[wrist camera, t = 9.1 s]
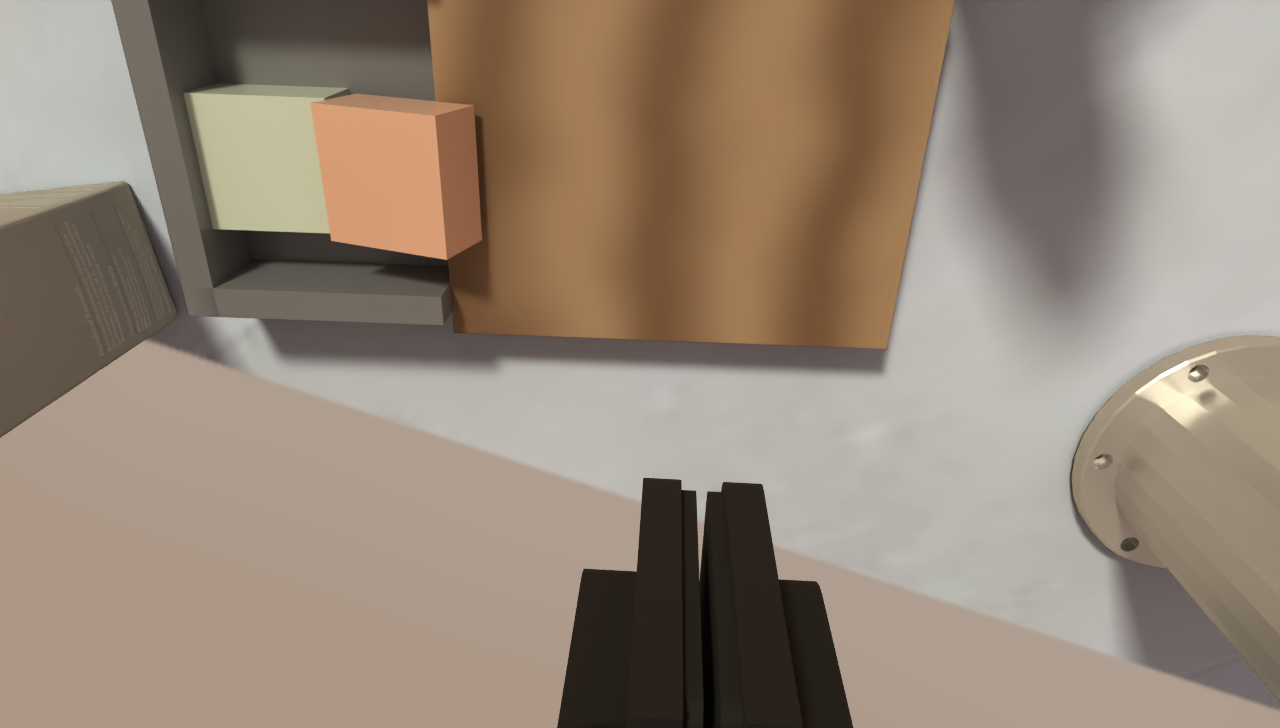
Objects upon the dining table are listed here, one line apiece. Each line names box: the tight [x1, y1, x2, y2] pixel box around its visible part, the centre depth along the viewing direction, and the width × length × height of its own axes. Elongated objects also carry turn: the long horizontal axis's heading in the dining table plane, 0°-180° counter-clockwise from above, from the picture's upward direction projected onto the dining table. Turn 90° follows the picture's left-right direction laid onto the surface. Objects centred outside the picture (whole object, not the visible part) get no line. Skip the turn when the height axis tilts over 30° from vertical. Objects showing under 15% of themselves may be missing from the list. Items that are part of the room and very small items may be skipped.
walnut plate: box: [427, 0, 955, 349], centre depth 31 cm, size 18×14×2 cm
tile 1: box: [184, 83, 349, 233], centre depth 30 cm, size 5×5×2 cm
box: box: [111, 0, 452, 325], centre depth 30 cm, size 10×14×4 cm
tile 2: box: [311, 94, 482, 260], centre depth 29 cm, size 5×5×2 cm
